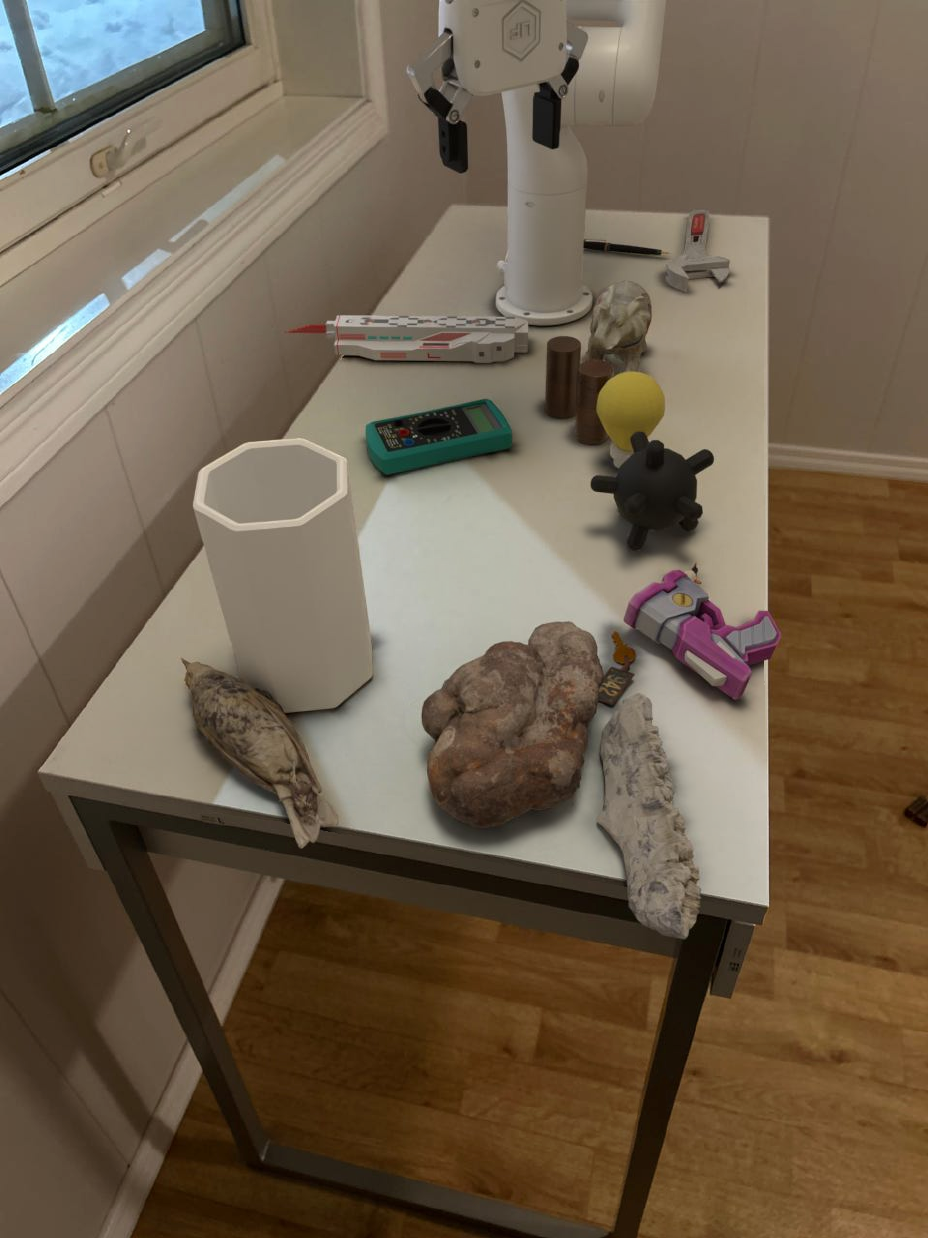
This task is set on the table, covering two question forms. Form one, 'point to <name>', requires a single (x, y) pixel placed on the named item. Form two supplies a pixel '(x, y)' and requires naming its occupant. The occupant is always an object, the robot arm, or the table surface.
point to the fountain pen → (620, 248)
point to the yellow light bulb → (629, 410)
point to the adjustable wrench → (696, 255)
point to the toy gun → (702, 631)
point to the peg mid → (591, 400)
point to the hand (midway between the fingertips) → (501, 156)
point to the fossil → (647, 822)
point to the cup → (287, 570)
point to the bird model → (259, 745)
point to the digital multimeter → (437, 436)
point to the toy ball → (655, 488)
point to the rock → (514, 726)
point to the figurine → (620, 324)
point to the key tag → (617, 673)
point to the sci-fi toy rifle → (426, 337)
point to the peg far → (562, 376)
